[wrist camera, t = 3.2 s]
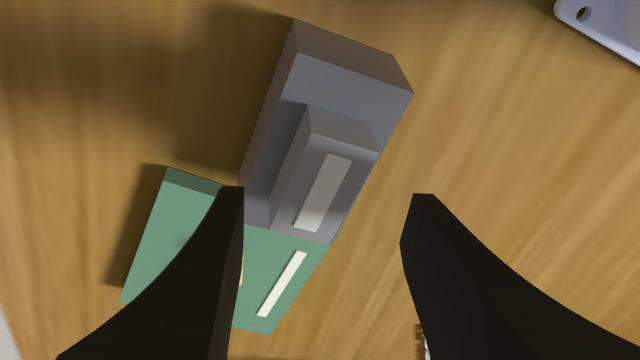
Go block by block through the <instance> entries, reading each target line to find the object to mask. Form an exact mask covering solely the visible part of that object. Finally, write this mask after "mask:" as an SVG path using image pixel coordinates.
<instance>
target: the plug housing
mask: <svg viewBox="0 0 640 360" xmlns="http://www.w3.org/2000/svg"><path fill="white" fill-rule="evenodd" d="M413 95H414V91H413V90H412V88H411V86H410V84H409V82H408V81H407V79H406V77H405V75H404V73H403V72H402V70H401V68H400V66H399V64H398V63H397V61H396V59H395V57H394V56H393V55H390V54H387V53H385V52H382V51H379V50H377V49H374V48H371V47H369V46H366V45H363V44H361V43H358V42H355V41H353V40H350V39H347V38H345V37H342V36H339V35H337V34H334V33H331V32H329V31H326V30H323V29H321V28H318V27H315V26H312V25H310V24H307V23H304V22H302V21H299V20H296V19H293V22H292V25H291V28H290V30H289V33H288V36H287V39H286V42H285V44H284V47H283V50H282V53H281V56H280V58H279V61H278V64H277V67H276V70H275V72H274V75H273V78H272V81H271V83H270V86H269V89H268V92H267V95H266V97H265V100H264V103H263V106H262V109H261V111H260V114H259V117H258V120H257V123H256V125H255V128H254V131H253V134H252V137H251V139H250V142H249V145H248V148H247V151H246V153H245V156H244V159H243V162H242V165H241V167H240V170H239V175H238V184H237V186H240V187H244V224H247V225H251V226H255V227H260V228H264V229H268V230H269V231H271V232H275V233H280V234H284V235H288V236H292V237H297V238H301V239H305V240H310V241H314V242H318V243H322V244H327V245H329V244H332V242H333V240H334V238H335V237H336V235H337V233H338V231H339V229H340V227H341V226H342V224H343V222H344V220H345V218H346V217H347V215H348V213H349V211H350V209H351V208H352V206H353V204H354V202H355V200H356V198H357V197H358V195H359V193H360V191H361V189H362V188H363V186H364V184H365V182H366V180H367V178H368V177H369V175H370V173H371V171H372V169H373V168H374V166H375V164H376V162H377V160H378V159H379V157H380V155H381V153H382V151H383V149H384V148H385V146H386V144H387V142H388V140H389V139H390V137H391V135H392V133H393V131H394V129H395V128H396V126H397V124H398V122H399V120H400V119H401V117H402V115H403V113H404V111H405V110H406V108H407V106H408V104H409V102H410V100H411V99H412V97H413Z"/></svg>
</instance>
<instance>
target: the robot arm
mask: <svg viewBox="0 0 640 360" xmlns="http://www.w3.org/2000/svg"><path fill="white" fill-rule="evenodd" d="M583 7H586V10H585V12H584V14H583V15H582V16H581V17H579V18H576V15H577V13H578V11H579V10H580V9H581V8H583ZM554 13H555V16H556V17H557V18H558V19H560V20H562V21H563V22H565V23H567V24H568V25H570V26H572V27H574V28H575V29H577V30H579V31H580V32H582V33H584V34H585V35H587V36H589V37H591V38H592V39H594V40H596V41H597V42H599V43H601V44H602V45H604V46H606V47H608V48H609V49H611V50H613V51H614V52H616V53H618V54H619V55H621V56H623V57H625V58H626V59H628V60H630V61H631V62H633V63H635V64H636V65H638V66H640V0H557V1H556V3H555V6H554ZM243 244H244V187H240V186H222V187H221V188H219V190H218V192H217V195H216V197H215V199H214V201H213V203H212V204H211V206H210V208H209V210H208V211H207V213H206V215H205V216H204V218H203V219H202V221H201V222H200V224H199V225H198V227H197V228H196V230H195V231H194V233H193V234H192V235H191V237H190V238H189V239H188V241H187V242H186V243H185V245H184V246H183V247H182V248H181V250H180V251H179V252H178V254H177V255H176V256H175V257H174V258H173V260H172V261H171V262H170V263H169V264H168V265H167V266H166V268H165V269H164V270H163V271H162V272H161V273H160V274H159V275H158V276H157V277H156V278H155V279H154V280H153V281H152V282H151V283H150V284H149V285H148V286H147V287H146V288H145V289H144V290H143V291H142V292H141V293H140V294H139V295H138V296H136V297H135V298H134V299H133V300H132V301H131V302H130V303H129V304H127V305H126V306H125V307H124V308H123V309H121V310H120V311H119V312H118V313H116V314H115V315H114V316H113V317H111V318H110V319H109V320H108V321H106V322H105V323H104V324H103V325H101V326H100V327H99V328H97V329H96V330H95V331H93V332H92V333H90V334H89V335H88V336H86V337H85V338H83V339H82V340H80V341H79V342H77V343H76V344H74V345H73V346H72V347H70V348H69V349H67V350H66V351H64V352H62V353H61V354H59V355H58V356H57V358H56V359H55V360H227V353H228V345H229V338H230V332H231V327H232V321H233V316H234V310H235V305H236V299H237V294H238V288H239V282H240V277H241V271H242V259H243ZM399 244H400V250H401V257H402V262H403V268H404V273H405V276H406V280H407V283H408V286H409V289H410V292H411V296H412V299H413V302H414V305H415V308H416V311H417V314H418V317H419V321H420V324H421V327H422V330H423V333H424V336H425V340H426V343H427V347H428V351H429V355H430V360H640V347H639V346H637V345H635V344H633V343H631V342H629V341H627V340H625V339H623V338H621V337H619V336H617V335H615V334H613V333H611V332H609V331H607V330H605V329H603V328H601V327H599V326H598V325H596V324H594V323H592V322H590V321H589V320H587V319H585V318H583V317H581V316H580V315H578V314H576V313H575V312H573V311H571V310H570V309H568V308H566V307H565V306H563V305H562V304H560V303H559V302H557V301H556V300H554V299H552V298H551V297H549V296H548V295H546V294H545V293H543V292H542V291H541V290H539V289H538V288H536V287H535V286H533V285H532V284H531V283H529V282H528V281H527V280H525V279H524V278H523V277H521V276H520V275H519V274H518V273H516V272H515V271H514V270H512V269H511V268H510V267H509V266H507V265H506V264H505V263H504V262H503V261H502V260H500V259H499V258H498V257H497V256H496V255H495V254H494V253H492V252H491V251H490V250H489V249H488V248H487V247H486V246H485V245H484V244H483V243H482V242H480V241H479V240H478V239H477V238H476V237H475V236H474V235H473V234H472V233H471V232H470V231H469V230H468V229H467V228H466V227H465V226H464V225H463V224H462V223H461V222H460V221H459V220H458V219H457V218H456V217H455V216H454V215H453V214H452V213H451V212H450V211H449V209H448V208H447V207H446V206H445V205H444V204H443V203H442V202H441V201H440V200H439V199H438V198H437V197H436V196H435V195H434V194H421V193H413V196H412V200H411V203H410V207H409V211H408V214H407V218H406V221H405V225H404V228H403V232H402V235H401V239H400V242H399Z"/></svg>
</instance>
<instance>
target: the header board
mask: <svg viewBox="0 0 640 360" xmlns="http://www.w3.org/2000/svg"><path fill="white" fill-rule="evenodd" d="M222 186H226V185H223V184H219V183H216V182H213V181H210V180H207V179H204V178H201V177H198V176H195V175H192V174H189V173H186V172H183V171H179V170H176V169H173V168H170V167H167V170H166V173H165V175H164V178H163V181H162V184H161V186H160V189H159V192H158V194H157V197H156V200H155V203H154V205H153V208H152V211H151V213H150V216H149V219H148V222H147V224H146V227H145V230H144V233H143V235H142V238H141V241H140V243H139V246H138V249H137V252H136V254H135V257H134V260H133V262H132V265H131V268H130V271H129V273H128V276H127V279H126V281H125V284H124V287H123V290H122V293H121V296H120V299H119V302H122V303H127V304H129V303H130V302H131V301H132V300H133V299H134V298H135V297H136V296H138V295H139V294H140V293H141V292H142V291H143V290H144V289H145V288H146V287H147V286H148V285H149V284H150V283H151V282H152V281H153V280H154V279H155V278H156V277H157V276H158V275H159V274H160V273H161V272H162V271H163V270H164V269H165V268H166V266H167V265H168V264H169V263H170V262H171V261H172V260H173V258H174V257H175V256H176V255H177V254H178V252H179V251H180V250H181V248H182V247H183V246H184V245H185V243H186V242H187V241H188V239H189V238H190V237H191V235H192V234H193V233H194V231H195V230H196V228H197V227H198V225H199V224H200V222H201V221H202V219H203V218H204V216H205V215H206V213H207V211H208V210H209V208H210V206H211V204H212V203H213V201H214V199H215V197H216V195H217V192H218V190H219V188H221V187H222ZM336 237H337V235H336ZM336 237H335V238H336ZM335 238H334V240H335ZM334 240H333V241H334ZM332 243H333V242H332ZM330 246H331V244H329V245H327V244H322V243H318V242H314V241H310V240H305V239H301V238H297V237H292V236H288V235H284V234H280V233H275V232H271V231H269V230H268V229H264V228H260V227H255V226H251V225H247V224H244V244H243V259H242V271H241V277H240V282H239V288H238V294H237V299H236V305H235V310H234V316H233V321H232V327H234V328H239V329H243V330H247V331H252V332H256V333H261V334H265V335H270V334H271V333H272V331H273V330H274V328H275V327H276V325H277V324H278V322H279V321H280V320H281V318H282V317H283V315H284V314H285V312H286V311H287V309H288V308H289V306H290V305H291V303H292V302H293V300H294V299H295V297H296V296H297V294H298V293H299V291H300V290H301V289H302V287H303V286H304V284H305V283H306V281H307V280H308V278H309V277H310V275H311V274H312V272H313V271H314V269H315V268H316V266H317V265H318V263H319V262H320V260H321V259H322V257H323V256H324V255H325V253H326V252H327V250H328V249H329V247H330Z"/></svg>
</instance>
